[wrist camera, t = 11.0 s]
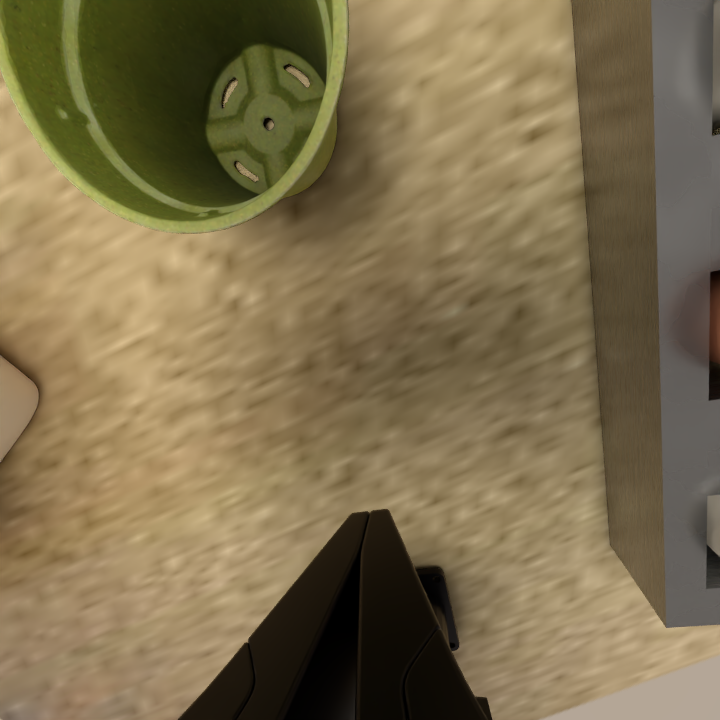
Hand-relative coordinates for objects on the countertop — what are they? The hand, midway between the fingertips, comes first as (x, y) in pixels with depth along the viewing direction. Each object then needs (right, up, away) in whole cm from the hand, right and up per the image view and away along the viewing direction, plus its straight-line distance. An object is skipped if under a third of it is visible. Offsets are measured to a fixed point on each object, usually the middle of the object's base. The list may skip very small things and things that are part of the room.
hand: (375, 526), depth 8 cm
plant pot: (-4, +14, +9) cm, 18 cm away
